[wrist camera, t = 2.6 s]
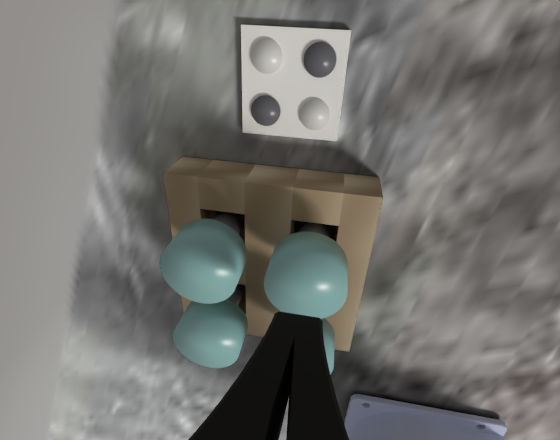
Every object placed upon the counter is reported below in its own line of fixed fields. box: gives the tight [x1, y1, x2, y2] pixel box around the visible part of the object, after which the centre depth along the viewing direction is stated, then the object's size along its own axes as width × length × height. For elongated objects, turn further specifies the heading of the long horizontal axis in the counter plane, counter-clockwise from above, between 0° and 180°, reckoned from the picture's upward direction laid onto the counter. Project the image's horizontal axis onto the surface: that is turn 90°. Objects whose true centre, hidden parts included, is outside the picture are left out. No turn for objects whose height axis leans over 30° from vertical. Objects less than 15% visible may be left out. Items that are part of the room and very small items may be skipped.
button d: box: [160, 212, 247, 304], centre depth 14 cm, size 3×3×4 cm
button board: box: [163, 157, 383, 352], centre depth 17 cm, size 9×9×2 cm
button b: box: [173, 284, 248, 368], centre depth 16 cm, size 3×3×4 cm
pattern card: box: [241, 25, 351, 141], centre depth 13 cm, size 4×4×1 cm
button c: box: [264, 223, 348, 319], centre depth 14 cm, size 3×3×4 cm
